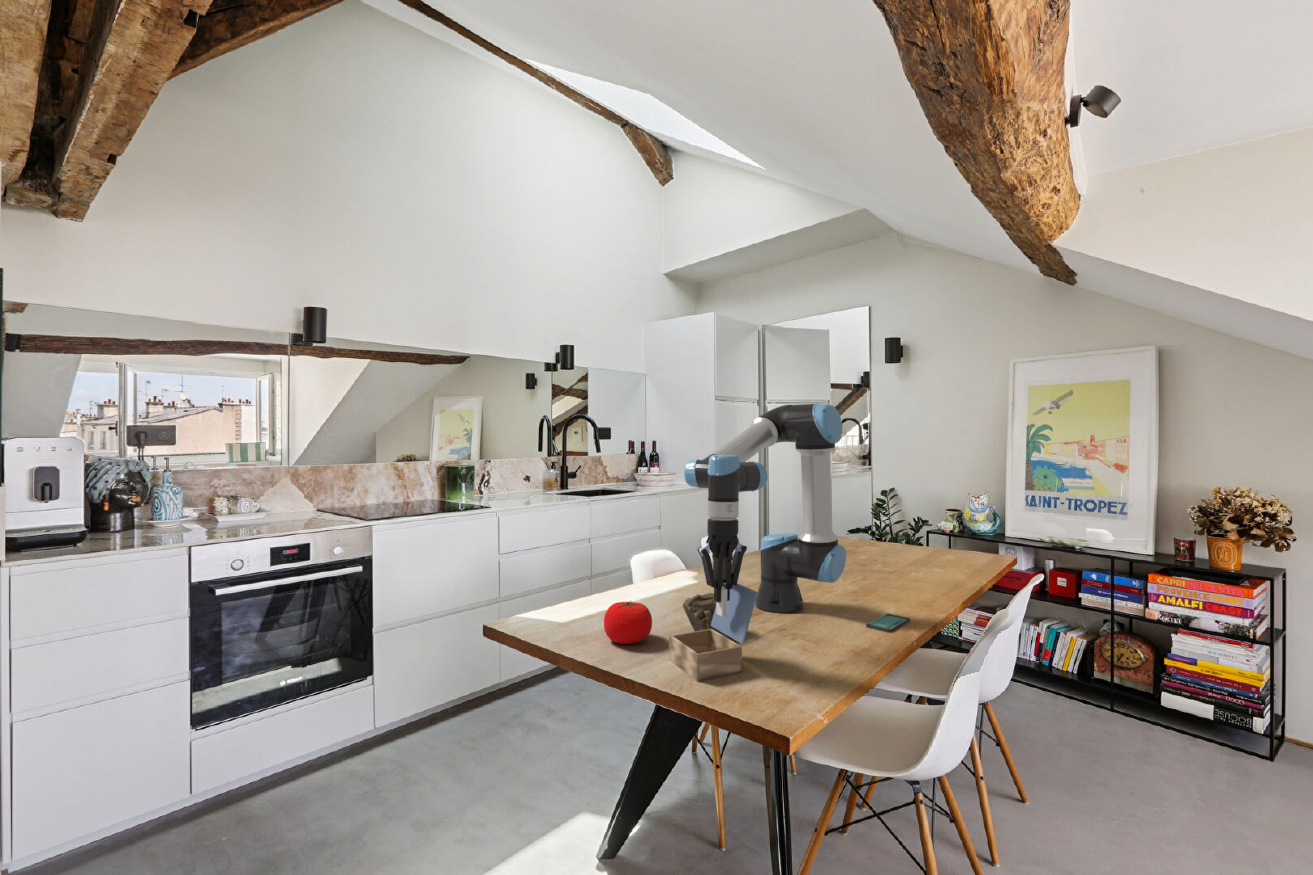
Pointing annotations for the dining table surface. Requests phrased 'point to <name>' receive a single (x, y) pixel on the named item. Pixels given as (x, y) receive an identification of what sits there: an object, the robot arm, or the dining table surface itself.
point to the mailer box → (705, 654)
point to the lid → (736, 613)
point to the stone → (701, 612)
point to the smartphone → (888, 623)
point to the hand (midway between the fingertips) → (721, 614)
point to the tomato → (627, 622)
